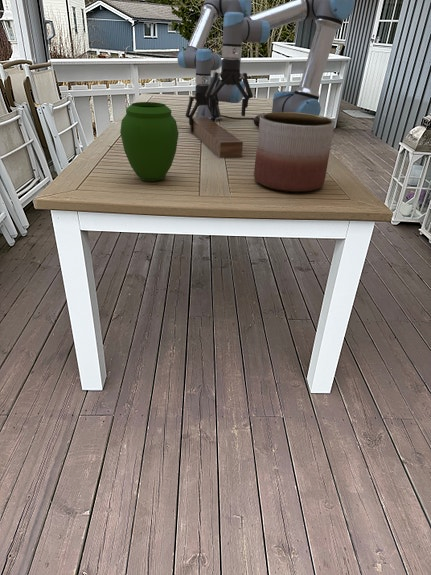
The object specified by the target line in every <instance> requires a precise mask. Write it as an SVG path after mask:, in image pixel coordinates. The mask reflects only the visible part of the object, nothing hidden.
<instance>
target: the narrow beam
mask: <svg viewBox="0 0 431 575" xmlns="http://www.w3.org/2000/svg"><path fill="white" fill-rule="evenodd" d="M192 118H193V119H194V122H193V132H192V134H193V135H194V136H195V137H197V139H199V140H200V141H201V142H202V143H203V144H204V145H205V146H206V147H208V149H210V150H211V151H212V152H213V153H214V154H215V155H216V156H217V157H218V158H219V159H220V158H221V159H224V158H226V159H227V158H228V159H229V158H242V157H243V145H244V142H243V141H242V140H241V139H239V138H238V137H236V136H235V135H234V134H232V133H231V132H229V131H228V130H226V129H225V128H224V127H223V126H222V125H220V124H218V123H217V122H216V121H215V122H214V121H212V120H211V119H209V118H208V117H196V116H193V117H192ZM189 131H190V132H191V125H189Z"/></svg>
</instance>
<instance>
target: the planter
mask: <svg viewBox="0 0 431 575" xmlns="http://www.w3.org/2000/svg"><path fill="white" fill-rule="evenodd" d="M261 114H262V113H261ZM335 124H336V122H335V120H334V119H331V118H330V117H326V116H323V115H320V114H319V115H313V114H306V113H295V112H272V111H271V112H266V113H265V114H262V115H261V116H260V122H259V127H258V131H257V132H258V134H257V142H256V149H255V150H256V151H255V158H254V170H253V178H254V180H255V181H256V182H257V183H258V184H259V185H262V186H263V187H265V188H268V189H271V190H274V191H279V192H285V193H307V192H312V191H316V190H318V189H320V188H321V187H323V186H324V184H325V180H326V175H327V171H328V164H329V158H330V153H331V152H330V151H331V147H332V141H333V135H334V130H335Z"/></svg>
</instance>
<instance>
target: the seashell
mask: <svg viewBox="0 0 431 575" xmlns="http://www.w3.org/2000/svg"><path fill="white" fill-rule="evenodd" d="M262 114H266V113H265V112H262V113H259V114H257V115H256V116H255V117H253V118H254V119H252V121H253V125H254V126H255V127H257V128H259V122H260V116H261V115H262Z"/></svg>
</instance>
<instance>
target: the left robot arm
mask: <svg viewBox="0 0 431 575" xmlns="http://www.w3.org/2000/svg"><path fill="white" fill-rule="evenodd" d="M252 6H253V4H252V0H204V1H203V4H202V6H201V9H200V16H199V18H198V20H197V23H196V25H195V27H194V29H193V32H192V34H191V37H190V39H189V41H188V44H187V46H186V48H185V49H184V50H181V51H179V52H178V54H177V64H178V66H179V67H180V68H184V69H194V70H195V84H196V85H195V92H194V96H192V95H189V96H188V104H187V108H186V112H185V117H186V118H188V124H189V126H190V125H191V131H190V132H191V133H193V122H194V119H193V118H192V117H194V115H195V117H208V118H209V119H211V120H212V121H214V122H215V123H216V122H218V121H221V120H222V118H226V119H232V120H253V119H254V118H255V117H233V116H228V115H223V114H221V110H220V107H219V105H220V103H230V104H239V103H240V102H242V99H244V97H243V95H242V94H241V92H240V91H239V89H238V87H237V86H236V85H231V84H230V85H226V84H225V85H224V86H223V87H222V88H221V89H220V91H219V92H218V93H217V94H216V96H215V97H214V98H213V99H215V115H214V117H213V116H211V108H210V107H209V98H208V97H206V96H205V93H206V91H207V89H208V87H209V85H210V83H211V81H212V79H213V76H212V71H217V70H219V69H220V68H221V67H222V59H223V58H222V56H220V54H219V53H216V52H212V50H211V49H208V48H204V46H205V43H206V41H207V40H208V37H209V34H210V33H211V30H212V28H213V25H214V22H216V21H217V20H218V18H219V17H220V16H224V15H225V13H226V12H239V13H243V15H244V17H248V16H250V15H252ZM242 47H243V46H242ZM242 47H241V52H242V51H243V50H242V49H243V48H242ZM239 60H240V61H241V62H242V57H241V58H239ZM241 62H240V66H241ZM221 80H222V79H221V77H220V76H219V78H218V79H217V81H216V83H215V85H214V87H213V90H212V92H213V91H214V89H215V88H216V87H217V86H218V84H219V82H220V81H221ZM238 81H239V82H240V84H241V86H242V87H243V89H244V91H245V92H246V88H245V85H244V82H243V79H242V78H241V77H240V78H239V80H238ZM212 92H211V93H212ZM194 101H195V104H194V106H193V102H194ZM219 102H220V103H219Z"/></svg>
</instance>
